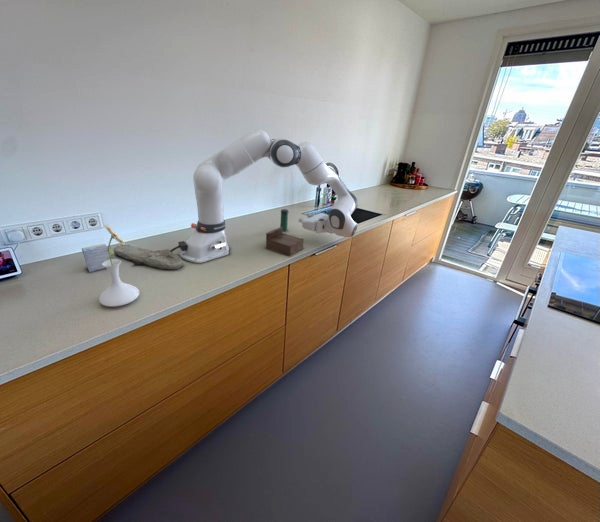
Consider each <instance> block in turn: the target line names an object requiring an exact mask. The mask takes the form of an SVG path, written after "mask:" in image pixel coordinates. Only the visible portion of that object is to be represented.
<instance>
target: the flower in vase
mask: <svg viewBox="0 0 600 522" xmlns="http://www.w3.org/2000/svg"><path fill="white" fill-rule="evenodd" d="M104 227H105V229H106V230H107V231H108V233H109V234H110V238H109V242H108V244H107V247H108V253H109V257H108V258H110V260H107V261H105V262H103V263H102V265H103V266H104V267H106V268H105V269H106V270H107V271H108V273H109V275H110V279H111V283H110V285H108V287H107V288H106V289H104V290H103V291H102V292H101V294H100V295H99V297H98V301H99V303H100V304H101V305H103V306H104V307H109V308H110V307H111V308H116V307H121V306H125V305H127V304H130V303H133V302H134V301H135V300H137V298H138V297H139V295H140V290H139V289H138V287H136V286H134V285H132V284H129V283H126V282H123V281H122V279H121V277H120V271H119V270H120V269H119V268H120V265H121V263H122V260H121V259H116V258H114V259H113V257H114V256H115V254H114V249H112V247H111V243H112V240H113V239H115V240H116V242H118V244H120V245H126V243H125V241H124V239H123V238H121V237H120V234H118V233H117V232H115V230H114V228H112V227H110V225H109V224H105V225H104ZM108 258H107V259H108Z"/></svg>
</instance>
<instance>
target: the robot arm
mask: <svg viewBox="0 0 600 522" xmlns="http://www.w3.org/2000/svg"><path fill="white" fill-rule="evenodd" d="M263 158H268V159H269V160H270V161H271V162H272V163H273V164H274V165H275V166H276V167H280V168H289V167H292V166H296V167H297V168H298V170H299V171H300V173H301V175H302V177H303V178H304V180H305V181H306V182H307V183H308V184H309V185H312V186H321V185H324V184H327V185H328V186H329V187H330V188H331V189H332V191H333V192H334V194H336V197H337V199H336V201H335V203H334V204H333V205H332V206H331V208H330V210H329V211H328V213H324V212H319V213H317V214H307V218H306V219H304V218H301V217H300V218H298V223H301V227H302V228H303V229H304V230H307V231H311V232H315V233H316V234H322V233H328V234H335V235H336V236H339V237H343V238H352V237H353V236H354V235H355V234H356V232H357V229H358V223H357V222H356V221H354V220H353V218H352V214H353V213H354V212H355V211H356V210H357V208H358V206H359V200H358V198H357V197H356V195H355V194H354V193H352V192H351V190H350V189H349V188H348V187H347V186H346V184H345V183H344V181H343V180H342V178H341V177H340V176H339V174H338V173H337V172H336V171H335V170H334V169H333V168H332V167H329V166H328V165H327V164H326V162H325V161H324V159H323V158H322V156H321V154H320V153H319V152H318V150H317V148H316V147H315V146H314V145H313V144H312V143H311V142H309V141H303V142H300V143H298V144H296V143H294V142H293V141H291V140H288V139H286V138H271V137H270V136H269V134H268V133H267V132H266V131H265V130H263V129H261V128H259V129H255V130H253V131H250V132H248V133H246V134H244V135H243V136H241V137H240V138H238V139H236V140H235V141H233V142H232V143H230V144H229V145H227V146H226V147H224V148H223V149H221V150H220V151H218V152H217V153H214V154H213V155H211V156H210V157H208V158H206V159H205V160H204V161H201V163H199V164H198V165H197V166H196V169H195V171H194V172H193V175H192V179H193V180H192V181H193V188H194V194H195V199H196V209H197V223H194V222H192V223H191V224H190V227H191V228H192V229H195V231H194V232H193V233H192V234H191V235H190V237H188V239H187V240H186V241H184V240H182V241H178V242H177V244H178V245H177V246H175V247H173V248H172V249H169V250H170V252H172V253H173V251H176V250H178V249H180V252H179V257H180V258H182V260H184V261H187V262H190V263H195V264H203V263H206V262H209V261H212V260H215V259H218V258H219V259H220V258H222V257H225V256H228V255H230V246H229V244H228V240H227V235H226V234H227V233H226V220H225V215H224V213H225V212H224V195H223V194H224V193H223V182H225V181H226V180H228V179H230V178H231V177H233V176H236V175H238V174H240V173H242V172H243V171H245V170H246V169H248V168H249V167H251V166H252V165H254V164H255V163H256V162H258V161H260V160H261V159H263ZM133 266H148V265H147V264H144V263H137V262H134V263H133Z"/></svg>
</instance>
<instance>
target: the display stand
mask: <svg viewBox="0 0 600 522" xmlns="http://www.w3.org/2000/svg"><path fill="white" fill-rule="evenodd" d="M265 249H267V250H270V251H273V252H275V253H279V254H282V255H284V256H289V257H291V256H292V255H294V254H296V253H298V252H299V251H301V250H302V249H304V238H301V237H297V236H295V235H290V234H287V233H284V232H283V228H282V227H280V226H279V227H277V228H275V229H272V230H269V231H267V232H266V234H265Z"/></svg>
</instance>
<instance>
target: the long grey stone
mask: <svg viewBox="0 0 600 522" xmlns="http://www.w3.org/2000/svg"><path fill="white" fill-rule="evenodd" d="M170 250H171V249H169V248H166V249H161V250H152V249H147V248H143V247H139V246H134V245H131V244H124V245H122V244H120V245H116V247H114V248H113V251H114V254H113V255H115V256H118V257H122V258H123V259H126V260H129V261H132V262H134V263H144V264H147V265H146V266H150V267H154V268H158V269H161V270H165V269H166V270H178V269H180V268H182V267H183V265H184V261H183V258H181V257H180V255H178V254H176V253H174V252H173V251H172V252H170Z"/></svg>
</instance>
